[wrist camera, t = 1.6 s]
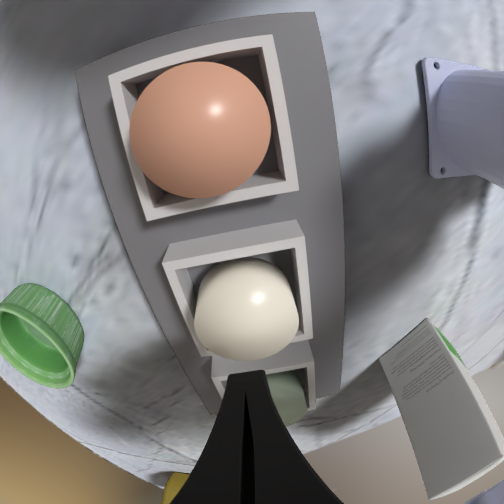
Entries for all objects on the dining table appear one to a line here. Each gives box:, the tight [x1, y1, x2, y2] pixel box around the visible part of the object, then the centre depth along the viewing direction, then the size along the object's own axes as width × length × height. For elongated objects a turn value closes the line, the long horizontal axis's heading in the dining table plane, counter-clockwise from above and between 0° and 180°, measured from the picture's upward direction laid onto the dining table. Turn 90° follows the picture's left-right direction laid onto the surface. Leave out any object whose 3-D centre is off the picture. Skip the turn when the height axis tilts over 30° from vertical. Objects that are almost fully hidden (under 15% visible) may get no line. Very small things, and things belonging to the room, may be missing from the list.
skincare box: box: [379, 318, 504, 500], centre depth 18 cm, size 8×7×16 cm
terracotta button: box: [129, 62, 271, 198], centre depth 10 cm, size 5×5×2 cm
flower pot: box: [161, 472, 190, 504], centre depth 35 cm, size 9×9×9 cm
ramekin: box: [0, 283, 84, 388], centre depth 18 cm, size 9×9×4 cm
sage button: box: [266, 371, 307, 427], centre depth 19 cm, size 5×5×2 cm
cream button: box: [194, 257, 299, 361], centre depth 15 cm, size 5×5×2 cm
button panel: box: [75, 12, 345, 414], centre depth 17 cm, size 12×28×4 cm, turn 10°
